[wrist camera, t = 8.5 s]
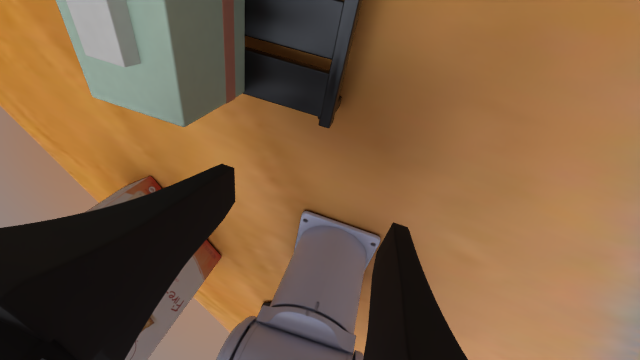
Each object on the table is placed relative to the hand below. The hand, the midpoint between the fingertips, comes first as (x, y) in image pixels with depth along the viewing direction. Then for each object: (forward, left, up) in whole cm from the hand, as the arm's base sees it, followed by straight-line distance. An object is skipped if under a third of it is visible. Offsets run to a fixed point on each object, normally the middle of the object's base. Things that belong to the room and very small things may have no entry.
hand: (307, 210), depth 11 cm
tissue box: (+5, +9, -6) cm, 12 cm away
